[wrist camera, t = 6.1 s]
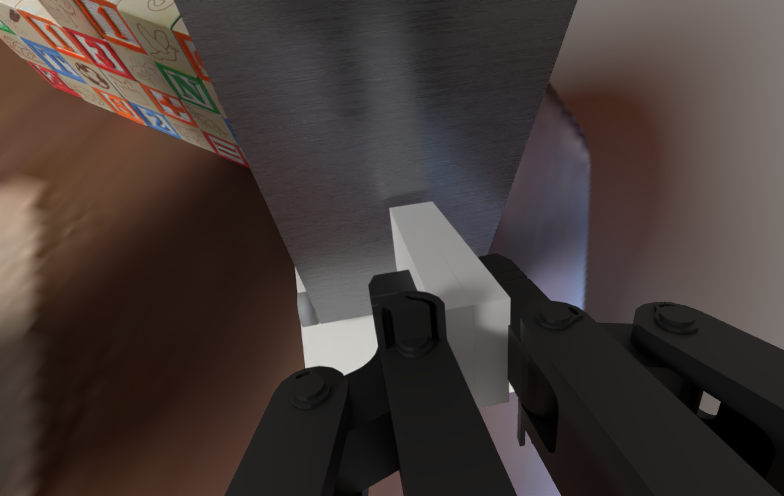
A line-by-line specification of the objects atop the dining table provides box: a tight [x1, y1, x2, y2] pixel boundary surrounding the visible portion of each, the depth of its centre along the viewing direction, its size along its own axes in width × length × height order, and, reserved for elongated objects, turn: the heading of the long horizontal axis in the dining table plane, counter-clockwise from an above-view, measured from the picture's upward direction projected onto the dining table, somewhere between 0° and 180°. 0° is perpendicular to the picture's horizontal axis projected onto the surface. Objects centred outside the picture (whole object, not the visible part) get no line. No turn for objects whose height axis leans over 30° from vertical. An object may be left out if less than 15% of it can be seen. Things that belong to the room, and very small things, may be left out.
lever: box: [174, 0, 577, 324], centre depth 13 cm, size 2×10×21 cm, turn 101°
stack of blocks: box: [0, 0, 250, 168], centre depth 26 cm, size 21×6×12 cm, turn 67°
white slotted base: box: [295, 268, 515, 393], centre depth 23 cm, size 16×11×7 cm
